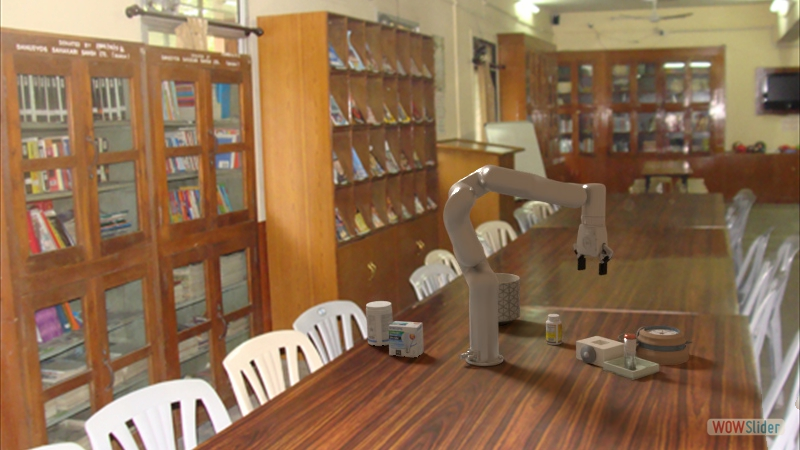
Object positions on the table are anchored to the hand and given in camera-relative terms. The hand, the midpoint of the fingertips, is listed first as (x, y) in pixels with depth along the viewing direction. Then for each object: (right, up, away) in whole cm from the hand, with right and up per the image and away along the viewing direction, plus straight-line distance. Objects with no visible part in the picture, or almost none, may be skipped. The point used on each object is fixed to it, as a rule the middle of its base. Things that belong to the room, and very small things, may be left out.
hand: (592, 272), depth 258 cm
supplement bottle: (-9, -27, +20) cm, 35 cm away
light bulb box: (-61, -29, +13) cm, 69 cm away
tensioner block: (+3, -29, 0) cm, 29 cm away
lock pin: (+9, -30, -12) cm, 33 cm away
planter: (-26, -23, +49) cm, 60 cm away
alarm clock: (+21, -28, +3) cm, 35 cm away
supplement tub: (-71, -28, +27) cm, 81 cm away
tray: (+9, -30, -12) cm, 34 cm away
